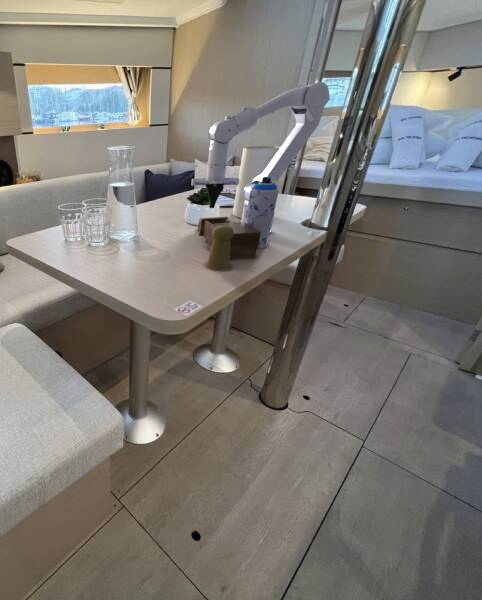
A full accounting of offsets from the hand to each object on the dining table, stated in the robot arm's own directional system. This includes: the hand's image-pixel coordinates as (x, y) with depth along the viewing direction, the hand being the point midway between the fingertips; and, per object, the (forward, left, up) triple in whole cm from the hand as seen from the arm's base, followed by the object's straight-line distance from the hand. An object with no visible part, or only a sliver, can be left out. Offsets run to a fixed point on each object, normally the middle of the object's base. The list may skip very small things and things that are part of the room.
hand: (211, 207), depth 107 cm
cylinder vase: (-24, -18, -9) cm, 31 cm away
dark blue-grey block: (-1, -3, -9) cm, 10 cm away
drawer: (+1, +6, -8) cm, 10 cm away
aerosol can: (-9, +13, -9) cm, 19 cm away
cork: (+8, +28, -9) cm, 30 cm away
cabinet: (+1, +19, -9) cm, 21 cm away
